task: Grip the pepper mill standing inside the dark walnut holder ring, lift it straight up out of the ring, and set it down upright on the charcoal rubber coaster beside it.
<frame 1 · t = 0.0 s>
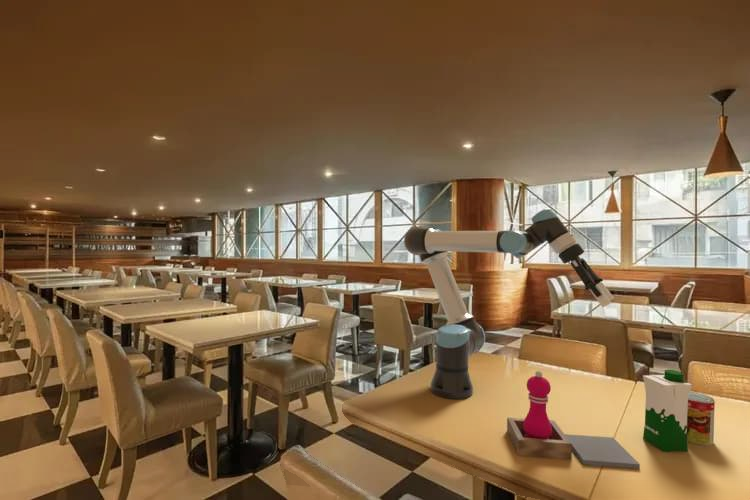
hand: (608, 302, 125), 36 cm above the table, tool tilted 35°, fingers open, 13 cm apart
milk carton: (664, 445, 106), on the table
coaster: (598, 452, 101), on the table
canned food: (694, 439, 109), on the table
pepper mill: (537, 445, 105), resting in holder ring
holder ring: (537, 444, 105), on the table
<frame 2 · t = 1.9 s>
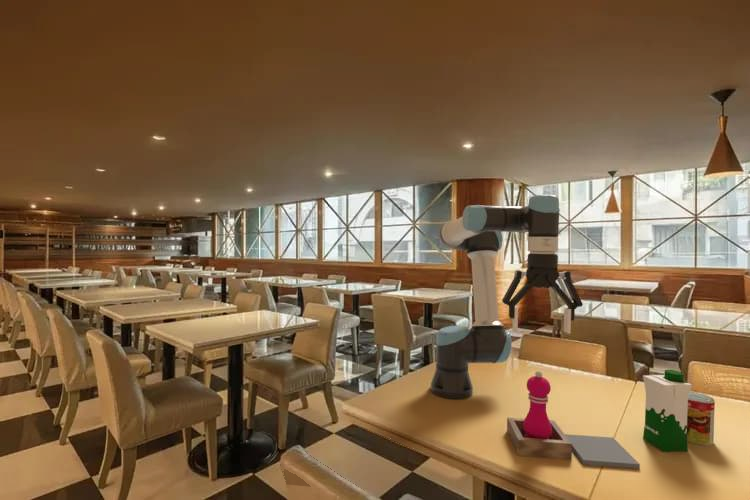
hand: (540, 331, 104), 31 cm above the table, tool pointing down, fingers open, 13 cm apart
nothing on the table moved.
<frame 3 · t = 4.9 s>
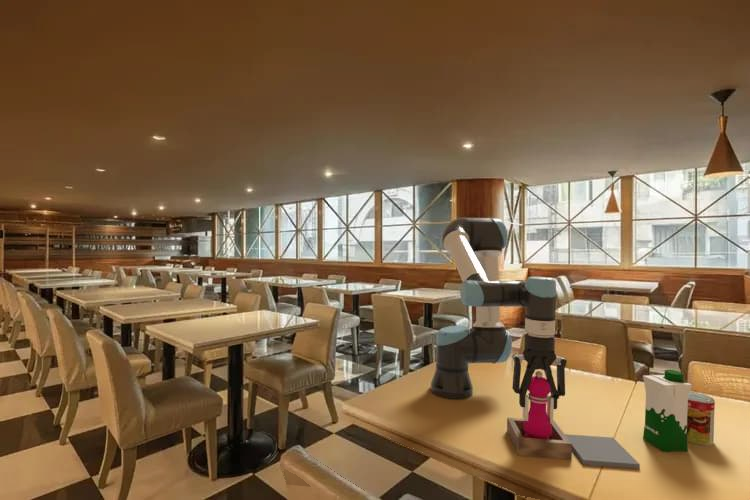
hand: (537, 419, 105), 7 cm above the table, tool pointing down, fingers closed on pepper mill, 6 cm apart
pepper mill: (537, 445, 105), resting in holder ring, touching gripper
everything else where it was.
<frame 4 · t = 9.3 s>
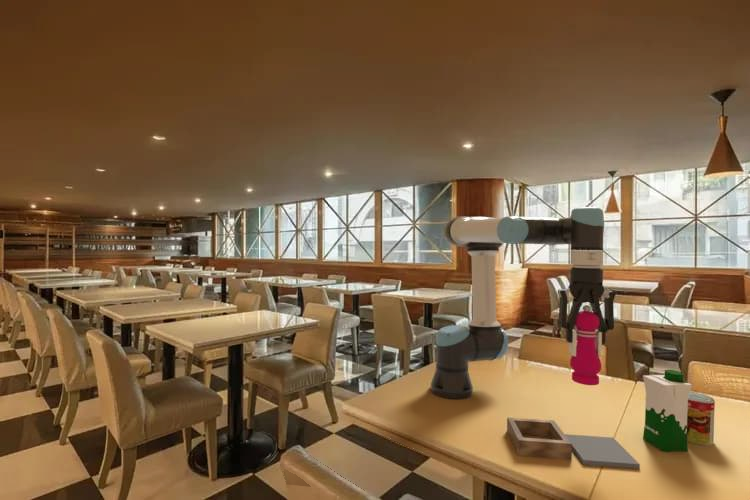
hand: (585, 355, 101), 25 cm above the table, tool pointing down, fingers closed on pepper mill, 5 cm apart
pepper mill: (585, 382, 101), point 18 cm above the table, touching gripper
everything else where it was.
when the fingers open (10 cm above the table, at t = 13.2 s): pepper mill drops 2 cm, resting on coaster.
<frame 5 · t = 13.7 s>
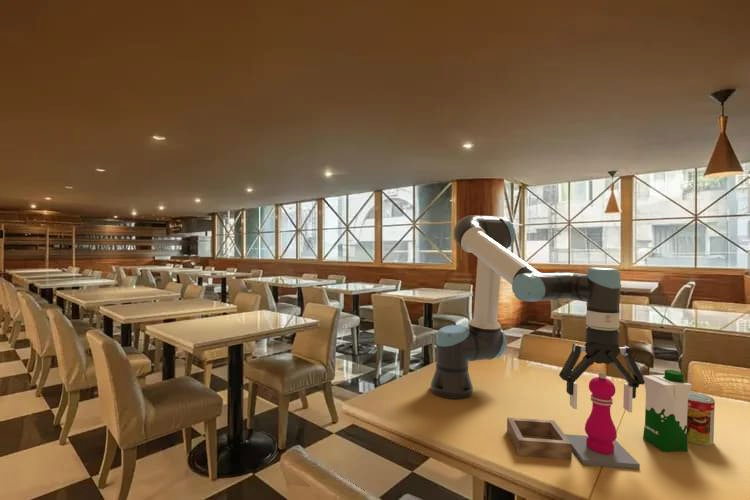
hand: (600, 408, 101), 12 cm above the table, tool pointing down, fingers open, 13 cm apart
pepper mill: (599, 448, 101), point 1 cm above the table, touching coaster
everything else where it was.
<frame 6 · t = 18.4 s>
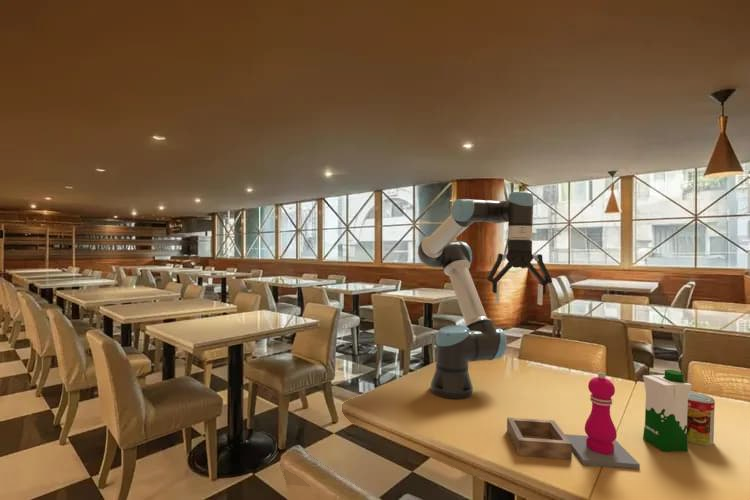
hand: (518, 303, 127), 35 cm above the table, tool pointing down, fingers open, 13 cm apart
nothing on the table moved.
at the end: pepper mill inside the target area on the coaster (0.2 cm from its centre), point 1.0 cm above the coaster's base; pepper mill tilted 0°; the gripper is holding nothing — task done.
